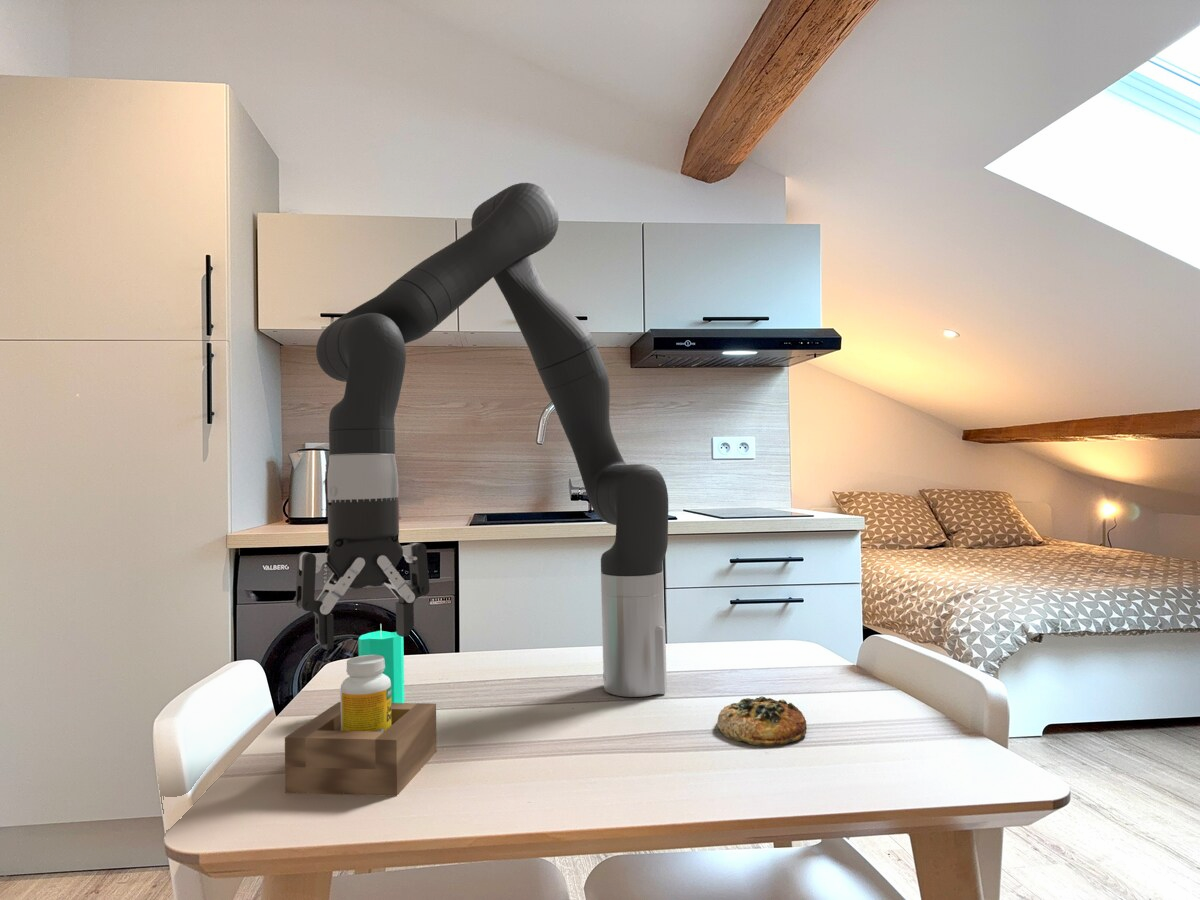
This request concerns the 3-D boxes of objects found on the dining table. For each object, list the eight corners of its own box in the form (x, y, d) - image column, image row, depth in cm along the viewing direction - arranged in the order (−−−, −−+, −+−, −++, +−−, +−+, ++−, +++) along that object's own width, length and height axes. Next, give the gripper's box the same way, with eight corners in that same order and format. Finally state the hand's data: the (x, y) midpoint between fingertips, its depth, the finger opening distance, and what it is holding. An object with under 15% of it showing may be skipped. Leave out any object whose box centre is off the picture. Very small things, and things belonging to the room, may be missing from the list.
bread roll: (817, 722, 94) (812, 684, 94) (796, 766, 84) (791, 723, 84) (732, 714, 99) (728, 677, 99) (703, 754, 90) (698, 714, 89)
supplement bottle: (337, 743, 84) (336, 656, 84) (386, 734, 86) (385, 650, 86) (345, 759, 79) (343, 667, 79) (396, 749, 81) (395, 660, 81)
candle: (391, 719, 100) (390, 628, 100) (350, 717, 101) (349, 627, 101) (412, 705, 105) (410, 619, 106) (373, 703, 107) (371, 619, 107)
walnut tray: (436, 755, 87) (436, 703, 88) (397, 799, 76) (396, 739, 76) (339, 752, 89) (338, 702, 89) (285, 796, 77) (284, 737, 77)
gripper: (409, 492, 91) (412, 627, 90) (287, 497, 82) (289, 646, 81) (437, 493, 85) (440, 637, 84) (307, 498, 76) (310, 659, 75)
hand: (366, 641), depth 83 cm, fingers open, 8 cm apart
